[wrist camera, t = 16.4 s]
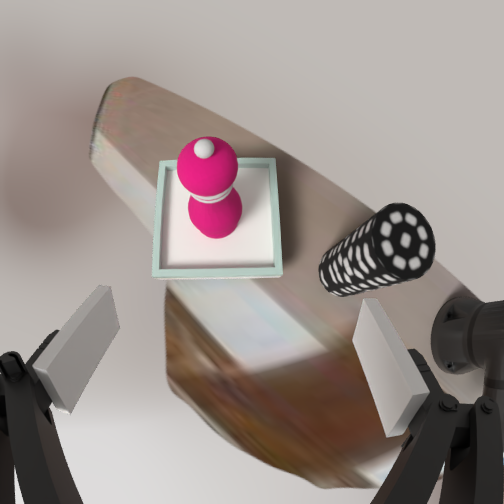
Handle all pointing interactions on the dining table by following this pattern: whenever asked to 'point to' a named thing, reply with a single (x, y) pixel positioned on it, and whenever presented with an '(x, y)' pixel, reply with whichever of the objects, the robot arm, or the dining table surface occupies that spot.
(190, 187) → the pepper mill
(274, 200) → the rolling base
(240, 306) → the dining table surface
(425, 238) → the white-spotted black cylinder
